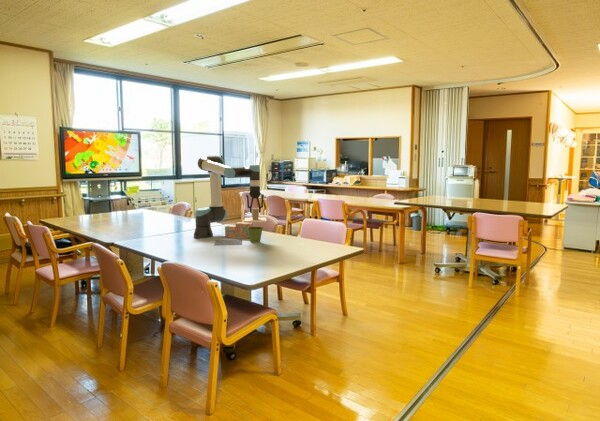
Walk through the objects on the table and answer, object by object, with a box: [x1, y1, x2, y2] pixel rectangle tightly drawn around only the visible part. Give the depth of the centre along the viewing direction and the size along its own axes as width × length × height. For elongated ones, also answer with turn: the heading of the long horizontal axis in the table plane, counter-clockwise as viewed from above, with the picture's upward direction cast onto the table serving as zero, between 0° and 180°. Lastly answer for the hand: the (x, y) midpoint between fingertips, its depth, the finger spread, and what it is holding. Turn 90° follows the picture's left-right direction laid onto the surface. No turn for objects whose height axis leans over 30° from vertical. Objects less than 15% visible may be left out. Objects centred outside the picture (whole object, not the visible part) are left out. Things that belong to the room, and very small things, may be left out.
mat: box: [213, 238, 243, 247], centre depth 305 cm, size 20×20×1 cm
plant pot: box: [248, 226, 264, 244], centre depth 307 cm, size 12×12×11 cm
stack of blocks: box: [224, 221, 254, 239], centre depth 325 cm, size 21×6×12 cm, turn 77°
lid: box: [244, 207, 268, 223], centre depth 305 cm, size 16×16×9 cm
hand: (255, 217), depth 306 cm, fingers closed on lid, 4 cm apart
